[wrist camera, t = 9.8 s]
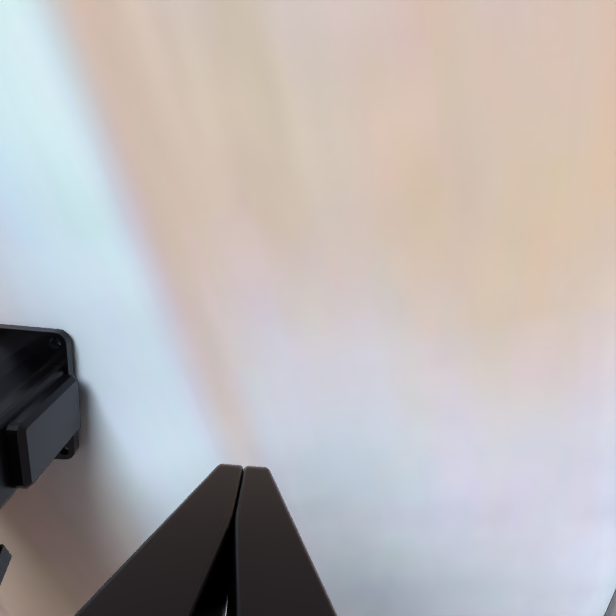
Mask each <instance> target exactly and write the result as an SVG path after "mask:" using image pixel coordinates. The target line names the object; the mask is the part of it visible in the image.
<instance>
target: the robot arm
mask: <svg viewBox="0 0 616 616" xmlns="http://www.w3.org/2000/svg"><path fill="white" fill-rule="evenodd" d="M54 338H57V339H58V340H59V341H60V343H61V345H58V344H56V343H55V342H54ZM80 426H81V420H80V406H79V392H78V380H77V379H76V377H75V376H74V374H73V360H72V347H71V339H70V336H69V335H68V333H66V332H65V331H63V330H60V329H51V328H39V327H28V326H16V325H4V324H0V509H1V508H2V506H3V505H4V504H5V503H6V502H7V501H8V500H9V498H10V497H11V496H12V495H13V494H14V493H15V491H16V490H17V489H18V488H22V489H27V488H28V487H29V486H31V485H32V484H33V483H34V482H35V481H36V480H37V479H38V477H39V476H40V475H41V474H42V473H43V471H44V470H45V469H46V468H47V466H48V465H49V464H50V463H51V462H52V460H53V459H69V458H71V457H73V455H74V454H75V453H76V451H77V450H78V448H79V442H78V429H79V428H80ZM64 446H66V447H67V448H69V450H68V449H65V448H64ZM11 557H12V555H11V554H10V553H9V551H8V550H7V549H6V547H5V546H4V545H3V544H1V545H0V585H1V582H2V580H3V577H4V575H5V572H6V570H7V567H8V565H9V562H10V560H11ZM227 601H228V602H227ZM226 607H227V614H226V616H337V614H336V612H335V610H334V608H333V606H332V603H331V601H330V599H329V597H328V595H327V593H326V590H325V588H324V586H323V584H322V582H321V580H320V578H319V575H318V573H317V571H316V569H315V567H314V565H313V562H312V560H311V558H310V556H309V554H308V552H307V550H306V547H305V545H304V543H303V541H302V539H301V537H300V534H299V532H298V530H297V528H296V526H295V524H294V522H293V519H292V517H291V515H290V513H289V511H288V509H287V506H286V504H285V502H284V500H283V498H282V496H281V494H280V491H279V489H278V487H277V485H276V483H275V481H274V479H273V476H272V474H271V472H270V470H269V469H268V468H266V467H255V466H247V467H245V468H244V471H243V467H242V466H240V465H230V464H220V465H218V466H217V467H216V468H215V469H214V470H213V471H212V472H211V473H210V474H209V475H208V476H207V478H206V479H205V480H204V481H203V482H202V483H201V484H200V485H199V486H198V487H197V488H196V489H195V490H194V491H193V492H192V493H191V494H190V495H189V496H188V497H187V498H186V500H185V501H184V502H183V503H182V504H181V505H180V506H179V507H178V508H177V509H176V510H175V511H174V512H173V513H172V514H171V515H170V516H169V517H168V518H167V519H166V520H165V521H164V523H163V524H162V525H161V526H160V527H159V528H158V529H157V530H156V531H155V532H154V533H153V534H152V535H151V536H150V537H149V538H148V539H147V540H146V541H145V542H144V543H143V544H142V546H141V547H140V548H139V549H138V550H137V551H136V552H135V553H134V554H133V555H132V556H131V557H130V558H129V559H128V560H127V561H126V562H125V563H124V564H123V565H122V566H121V567H120V569H119V570H118V571H117V572H116V573H115V574H114V575H113V576H112V577H111V578H110V579H109V580H108V581H107V582H106V583H105V584H104V585H103V586H102V587H101V588H100V589H99V590H98V591H97V593H96V594H95V595H94V596H93V597H92V598H91V599H90V600H89V601H88V602H87V603H86V604H85V605H84V606H83V607H82V608H81V609H80V610H79V611H78V612H77V613H76V614H75V616H225V613H226Z"/></svg>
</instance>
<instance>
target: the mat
mask: <svg viewBox="0 0 616 616" xmlns="http://www.w3.org/2000/svg"><path fill="white" fill-rule="evenodd" d="M605 616H616V591H615V594H614V596H613V598H612V600H611V603H610V605H609V607H608V610H607V612H606V614H605Z"/></svg>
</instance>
